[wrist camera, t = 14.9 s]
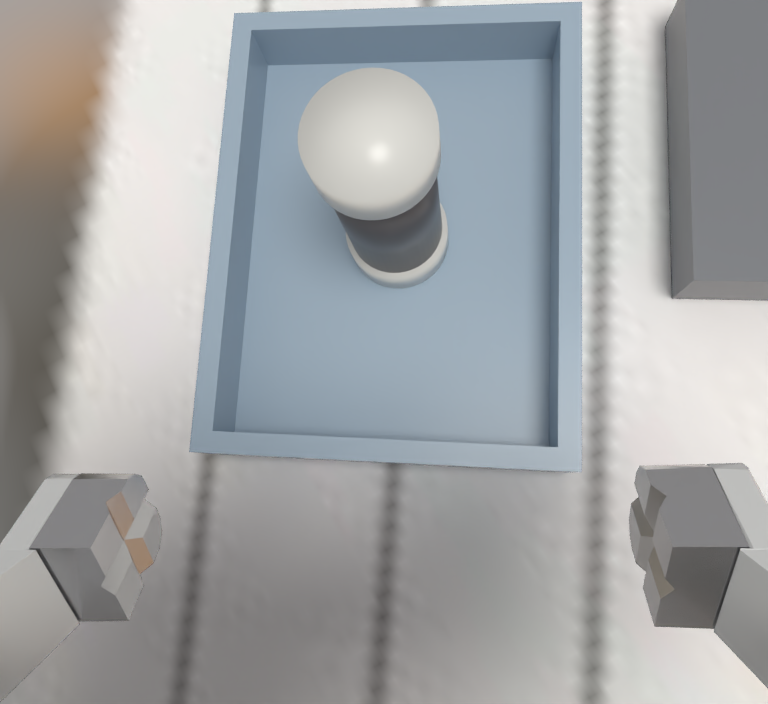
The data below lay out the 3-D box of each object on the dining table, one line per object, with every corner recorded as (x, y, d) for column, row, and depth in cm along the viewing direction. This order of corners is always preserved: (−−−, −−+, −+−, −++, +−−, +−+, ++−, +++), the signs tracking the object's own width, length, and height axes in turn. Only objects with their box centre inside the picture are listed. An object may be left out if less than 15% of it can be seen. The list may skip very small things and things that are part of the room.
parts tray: (568, 472, 25) (581, 472, 23) (218, 454, 27) (189, 451, 24) (569, 50, 29) (581, 2, 26) (256, 58, 30) (234, 13, 27)
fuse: (446, 289, 27) (435, 200, 18) (349, 287, 27) (292, 199, 18) (450, 196, 27) (442, 66, 19) (355, 195, 28) (303, 68, 19)
